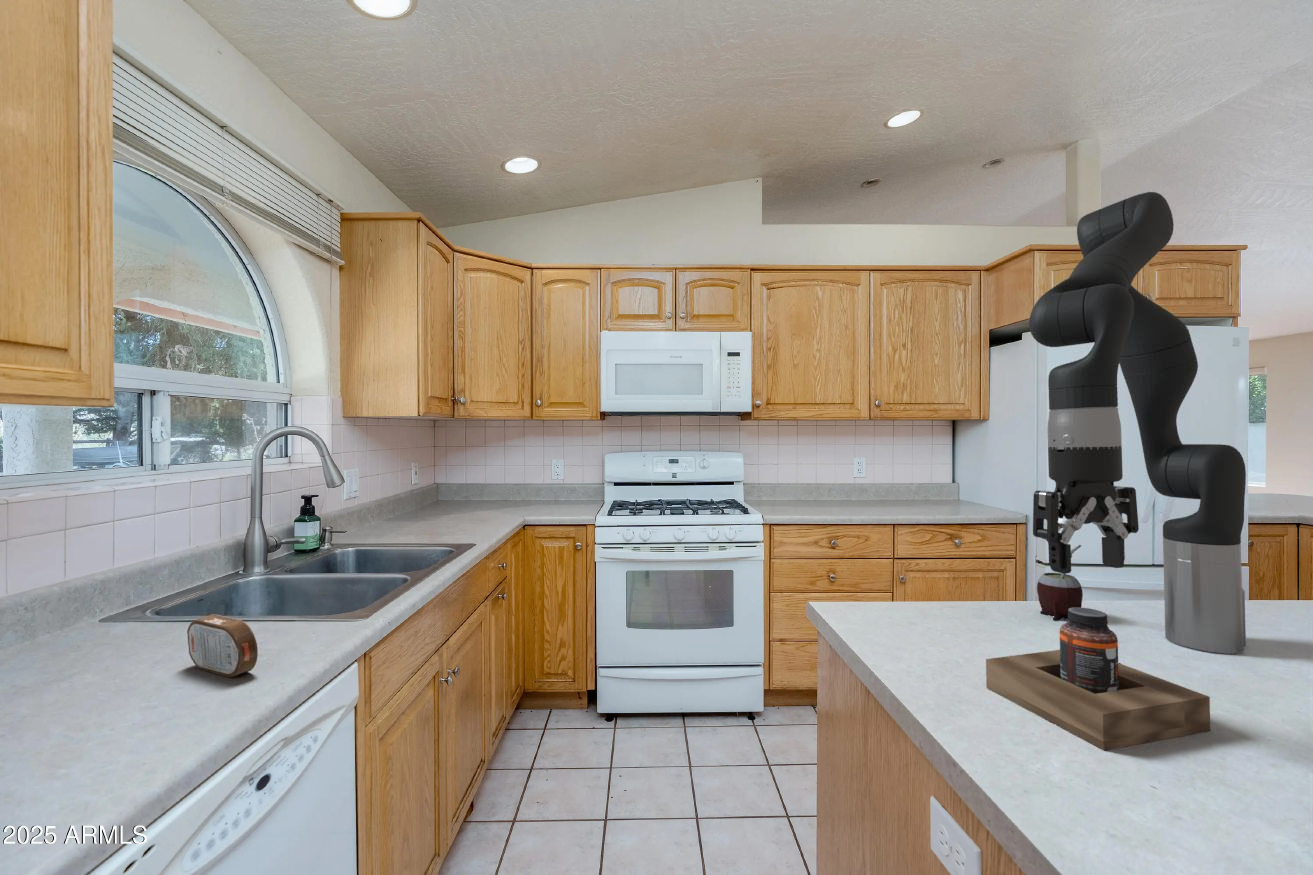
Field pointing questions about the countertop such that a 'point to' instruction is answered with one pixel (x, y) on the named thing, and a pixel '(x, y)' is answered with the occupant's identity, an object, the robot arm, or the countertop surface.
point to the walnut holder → (1100, 702)
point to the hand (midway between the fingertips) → (1087, 569)
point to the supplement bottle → (1089, 651)
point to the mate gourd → (1059, 593)
